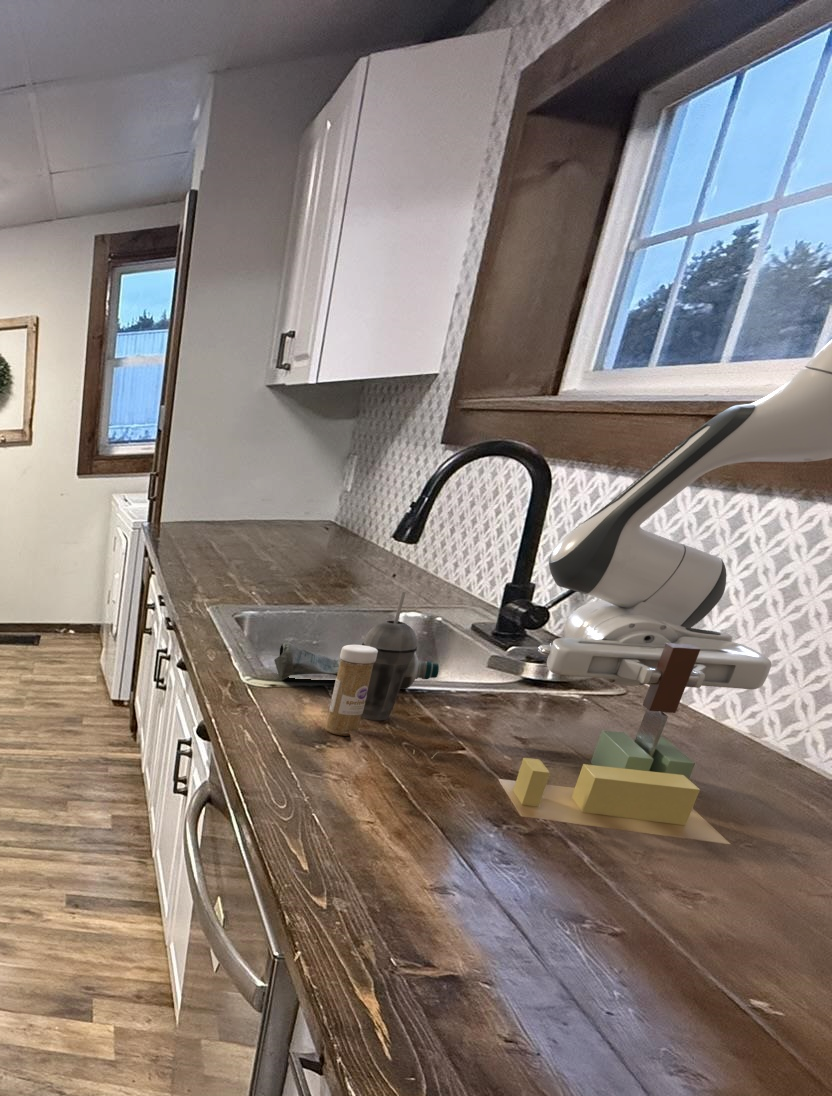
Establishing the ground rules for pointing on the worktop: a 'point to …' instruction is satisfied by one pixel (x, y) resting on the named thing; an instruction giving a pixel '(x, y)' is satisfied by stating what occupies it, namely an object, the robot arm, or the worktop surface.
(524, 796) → the butter slice
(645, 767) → the knife block
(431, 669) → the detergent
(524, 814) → the butter board
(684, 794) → the butter
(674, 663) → the wood-handled putty knife
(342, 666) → the sprinkles bottle
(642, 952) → the worktop surface
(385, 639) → the beverage cup
